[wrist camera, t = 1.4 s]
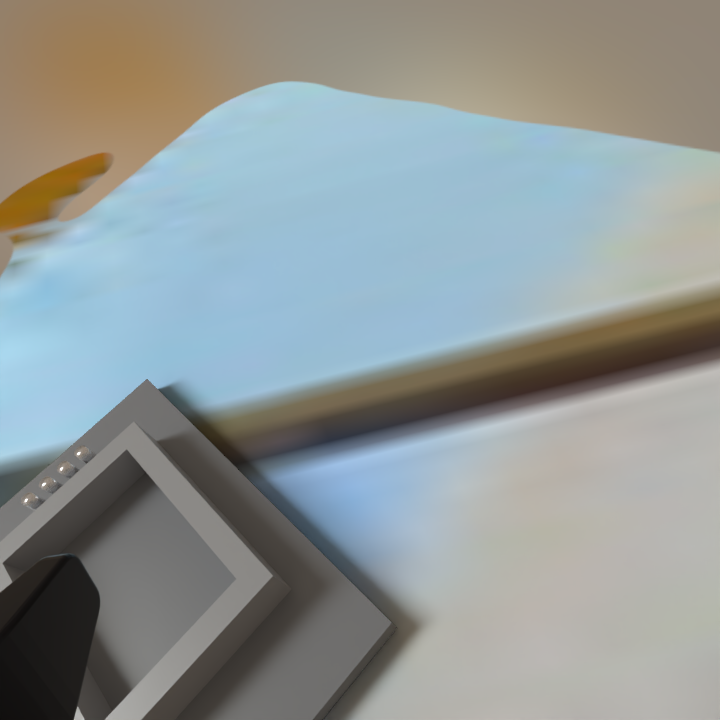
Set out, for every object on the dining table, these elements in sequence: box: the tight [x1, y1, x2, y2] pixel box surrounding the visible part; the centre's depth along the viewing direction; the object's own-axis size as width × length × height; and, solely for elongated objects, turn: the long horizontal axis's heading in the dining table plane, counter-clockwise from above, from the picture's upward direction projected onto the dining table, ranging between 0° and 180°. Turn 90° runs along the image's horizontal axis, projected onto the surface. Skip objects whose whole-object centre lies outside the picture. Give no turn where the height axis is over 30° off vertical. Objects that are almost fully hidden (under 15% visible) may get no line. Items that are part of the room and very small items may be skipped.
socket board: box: [0, 379, 397, 720], centre depth 23 cm, size 12×18×3 cm, turn 46°
